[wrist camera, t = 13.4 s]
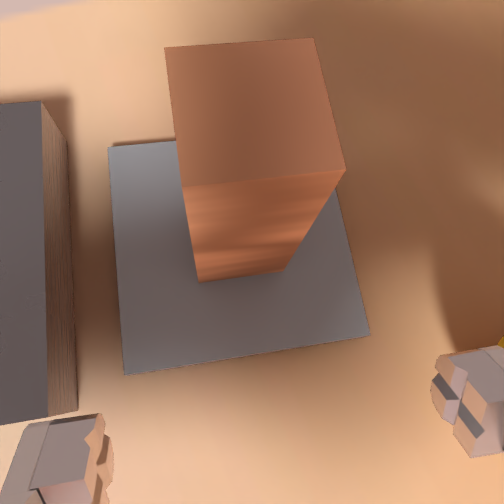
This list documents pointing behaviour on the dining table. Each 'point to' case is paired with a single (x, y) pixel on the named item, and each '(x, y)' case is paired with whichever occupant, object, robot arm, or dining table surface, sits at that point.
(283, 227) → the peg
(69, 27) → the dining table surface
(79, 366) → the dining table surface
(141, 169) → the mat
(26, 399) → the collar block
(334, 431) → the dining table surface
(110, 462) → the robot arm
